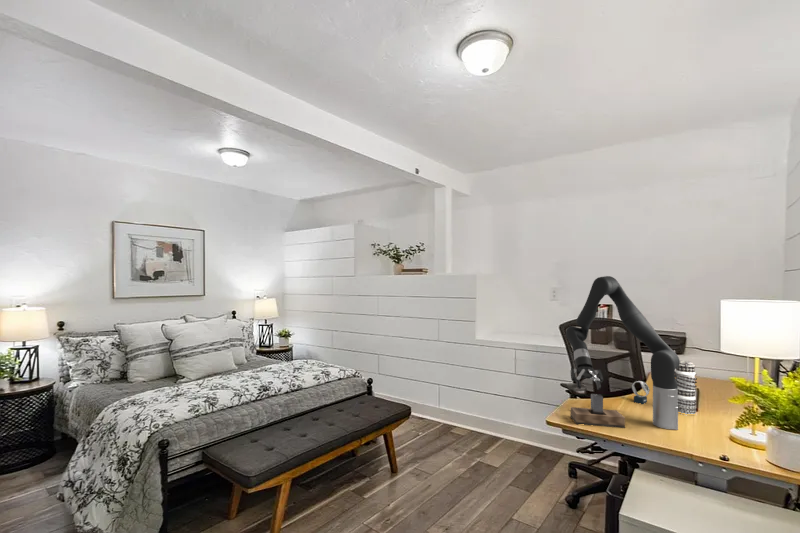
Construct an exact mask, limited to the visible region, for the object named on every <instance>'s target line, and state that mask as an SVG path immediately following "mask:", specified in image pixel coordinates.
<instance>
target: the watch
mask: <svg viewBox="0 0 800 533" xmlns="http://www.w3.org/2000/svg"><path fill="white" fill-rule="evenodd" d="M637 383H639V384H640V386H641V388H642V390H643V391H644V392H645V395H641V394H638V391H637V389H636V387H635V385H636V384H637ZM648 385H649V384H647V383H646V382H645V381H642V380H638V381H637V380H636V381H634V382H633V383H632V385H631V390H632V393H634V395H633V403H635V402H636V404H639V403H641V404H640V405H645V404H647V403H646V402H648V395H649V394H650V387H649V386H648ZM644 403H645V404H644Z"/></svg>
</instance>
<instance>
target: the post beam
mask: <svg viewBox="0 0 800 533" xmlns="http://www.w3.org/2000/svg"><path fill="white" fill-rule="evenodd" d="M570 419H572V420H574V421H573V422H574V423H575V425H578V424H584V425H583V426H591V425H593V426H594V427H605V428H606V427H607V428H620V429H625V428H626V417H625V416H624V415H623V414H621V413H620V412H619V411H618V410H617V409H604V408H603V415H599V414H591V407H590V408H588V407H574V406H573V407H572V406H570Z"/></svg>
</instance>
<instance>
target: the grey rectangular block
mask: <svg viewBox="0 0 800 533" xmlns="http://www.w3.org/2000/svg"><path fill="white" fill-rule="evenodd" d="M590 408H591V414H599V415H603V409H604V396H603V395H602V394H598V393H591V394H590Z"/></svg>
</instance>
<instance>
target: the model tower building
mask: <svg viewBox="0 0 800 533" xmlns="http://www.w3.org/2000/svg"><path fill="white" fill-rule="evenodd" d="M695 367H696V365H695V364H694V362H692V361H689V360H688V361H687V360H680V364H679V366H678V368H676V369H675V380H676V381H677V383H678V412H681V413H685V414H695V413H696V414H697V407H696V405H697V400H696V391H697V386H698V385H696V384H697V383H698V382H697V381H696V380H698V378H696V376H697V373H696V368H695Z"/></svg>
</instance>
